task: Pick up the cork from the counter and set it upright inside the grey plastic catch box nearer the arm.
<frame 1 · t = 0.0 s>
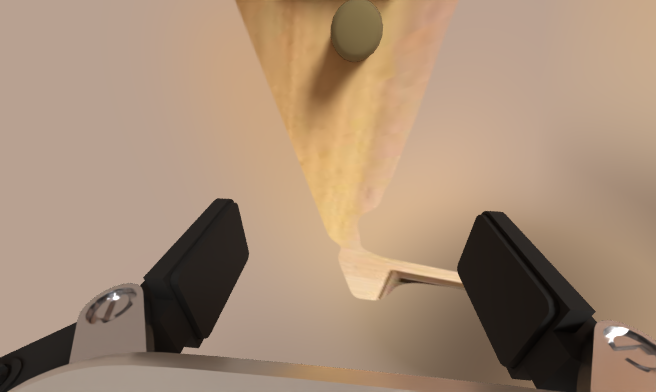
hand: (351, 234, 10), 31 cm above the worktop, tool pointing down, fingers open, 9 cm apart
cork: (355, 36, 32), on the worktop
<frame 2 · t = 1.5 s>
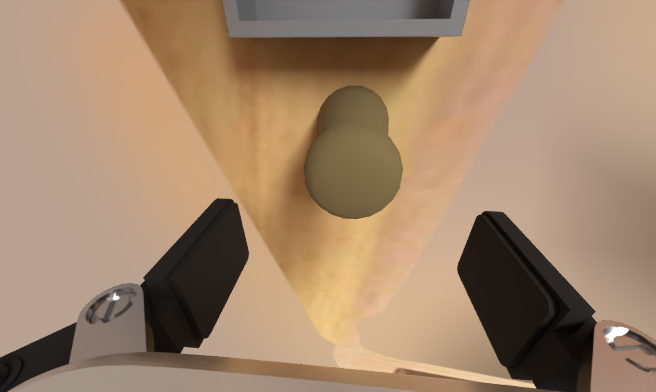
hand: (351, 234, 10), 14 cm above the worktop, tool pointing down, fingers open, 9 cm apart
cork: (352, 122, 21), on the worktop
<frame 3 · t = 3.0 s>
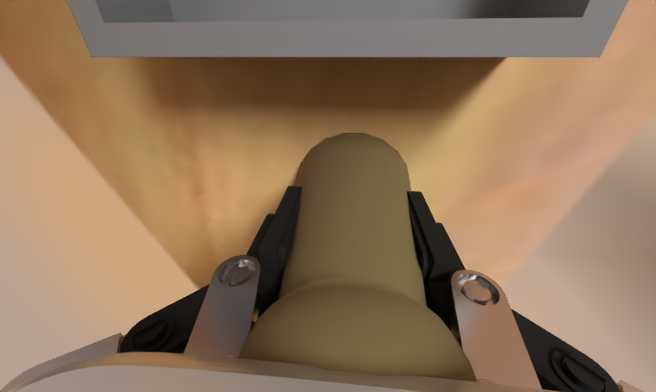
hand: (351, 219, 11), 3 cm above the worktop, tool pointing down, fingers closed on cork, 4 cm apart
cork: (351, 186, 13), on the worktop, touching gripper
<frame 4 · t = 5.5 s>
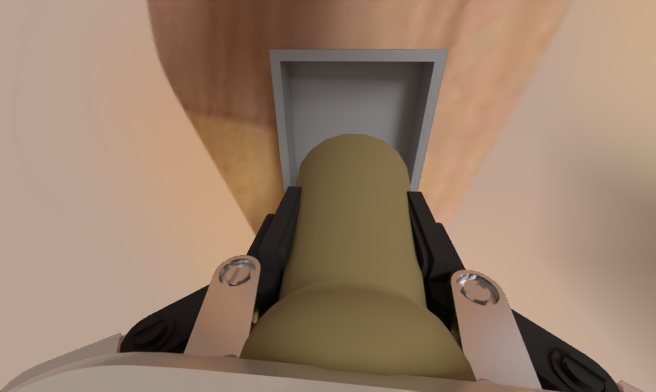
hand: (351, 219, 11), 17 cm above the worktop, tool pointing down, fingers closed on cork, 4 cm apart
catch box: (351, 126, 25), on the worktop
cork: (351, 186, 13), point 14 cm above the worktop, touching gripper
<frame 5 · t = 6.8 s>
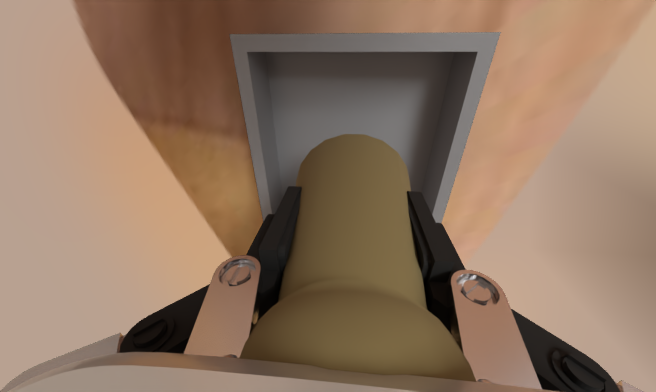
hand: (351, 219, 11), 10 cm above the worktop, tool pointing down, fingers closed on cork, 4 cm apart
catch box: (352, 138, 19), on the worktop
cork: (351, 187, 13), point 7 cm above the worktop, touching gripper
when the fingers open (5 cm above the worktop, at t = 8.0 s): cork drops 2 cm, resting on catch box.
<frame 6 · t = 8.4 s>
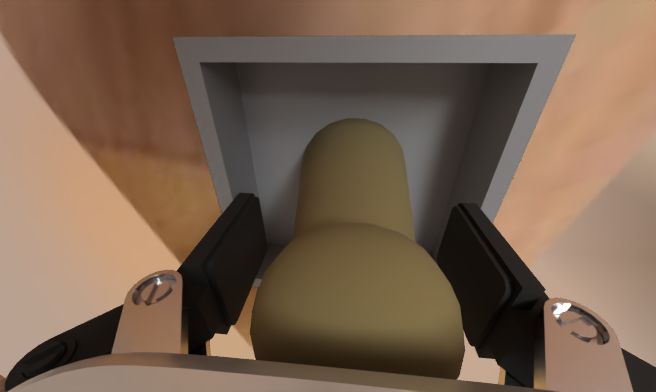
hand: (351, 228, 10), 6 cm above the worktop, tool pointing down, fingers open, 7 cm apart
catch box: (351, 169, 15), on the worktop
cork: (352, 168, 14), point 1 cm above the worktop, touching catch box
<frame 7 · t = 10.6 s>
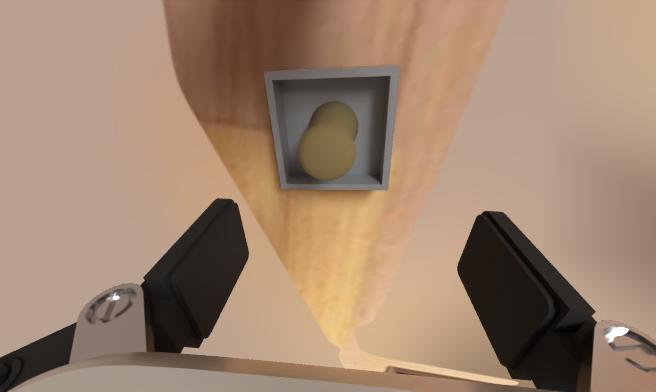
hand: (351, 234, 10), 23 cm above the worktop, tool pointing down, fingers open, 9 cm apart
catch box: (334, 128, 31), on the worktop
cork: (334, 126, 30), point 1 cm above the worktop, touching catch box
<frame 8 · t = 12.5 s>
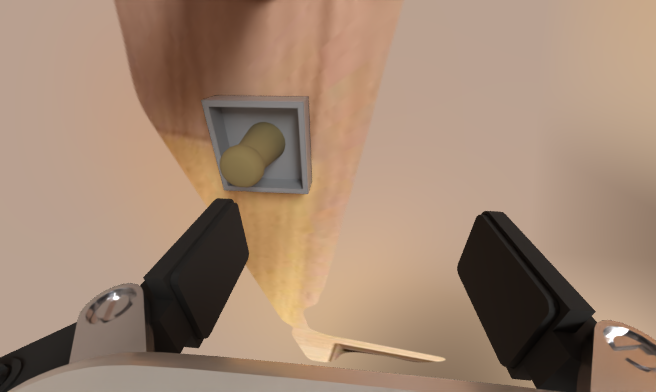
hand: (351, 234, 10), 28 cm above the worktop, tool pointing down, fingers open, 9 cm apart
catch box: (267, 142, 38), on the worktop
cork: (266, 141, 37), point 1 cm above the worktop, touching catch box
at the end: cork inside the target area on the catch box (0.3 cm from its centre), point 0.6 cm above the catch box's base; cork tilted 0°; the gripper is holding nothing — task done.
